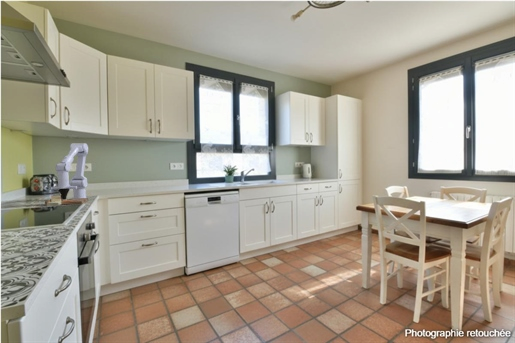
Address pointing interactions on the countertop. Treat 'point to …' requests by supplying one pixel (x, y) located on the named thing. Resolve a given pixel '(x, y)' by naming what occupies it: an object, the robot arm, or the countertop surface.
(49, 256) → the countertop surface
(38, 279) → the countertop surface
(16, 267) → the countertop surface
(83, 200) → the trap deck
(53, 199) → the maple block
